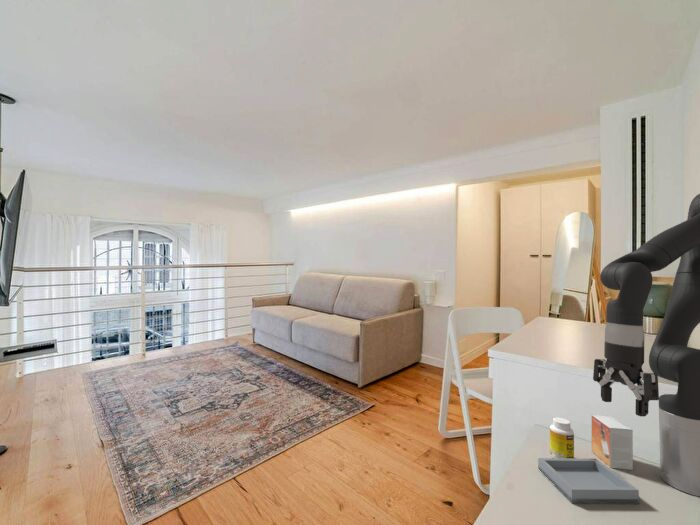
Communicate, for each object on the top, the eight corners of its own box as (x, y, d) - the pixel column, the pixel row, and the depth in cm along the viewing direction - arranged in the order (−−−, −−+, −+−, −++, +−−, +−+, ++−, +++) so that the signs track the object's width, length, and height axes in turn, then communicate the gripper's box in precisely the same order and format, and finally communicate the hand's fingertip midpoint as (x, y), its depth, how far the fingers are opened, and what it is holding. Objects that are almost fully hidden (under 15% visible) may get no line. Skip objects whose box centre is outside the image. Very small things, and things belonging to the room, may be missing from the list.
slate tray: (595, 470, 82) (595, 458, 82) (638, 503, 70) (638, 489, 70) (538, 469, 81) (538, 458, 82) (571, 503, 69) (571, 489, 70)
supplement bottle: (568, 466, 83) (568, 426, 84) (546, 456, 88) (545, 418, 88) (578, 460, 86) (577, 421, 87) (555, 450, 91) (555, 414, 91)
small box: (591, 451, 91) (590, 414, 91) (612, 453, 90) (612, 415, 90) (610, 468, 83) (609, 427, 83) (633, 470, 82) (633, 429, 82)
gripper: (669, 349, 72) (668, 421, 72) (609, 337, 86) (608, 397, 86) (640, 348, 71) (639, 421, 71) (585, 336, 85) (584, 397, 85)
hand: (622, 408), depth 78 cm, fingers open, 8 cm apart
